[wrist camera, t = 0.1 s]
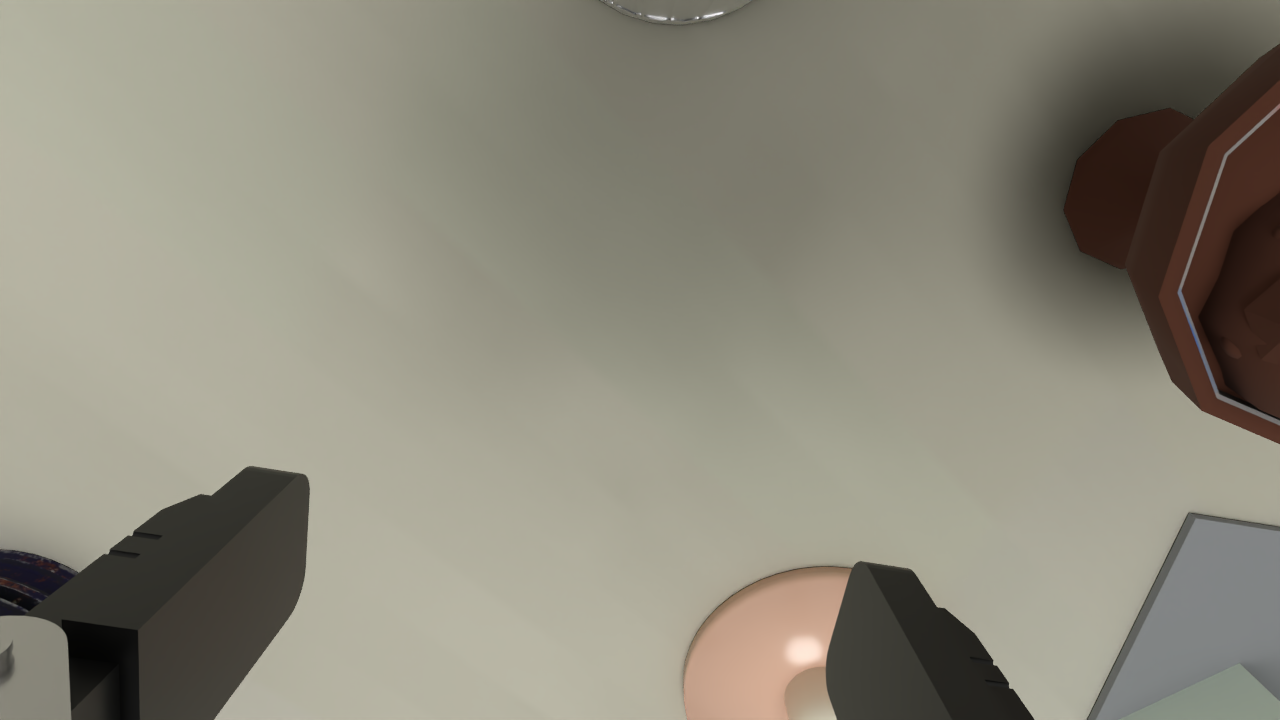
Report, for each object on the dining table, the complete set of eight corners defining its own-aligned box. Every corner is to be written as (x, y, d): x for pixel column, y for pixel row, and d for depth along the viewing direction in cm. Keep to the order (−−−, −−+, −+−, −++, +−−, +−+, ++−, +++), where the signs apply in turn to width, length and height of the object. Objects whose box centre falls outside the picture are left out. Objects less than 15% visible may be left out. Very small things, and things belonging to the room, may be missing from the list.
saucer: (712, 547, 31) (714, 562, 30) (986, 588, 31) (996, 603, 31) (661, 759, 35) (662, 777, 34) (905, 791, 36) (912, 810, 35)
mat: (1189, 513, 30) (1196, 518, 30) (1458, 555, 31) (1468, 560, 30) (1036, 824, 36) (1039, 831, 36) (1263, 853, 37) (1270, 862, 37)
